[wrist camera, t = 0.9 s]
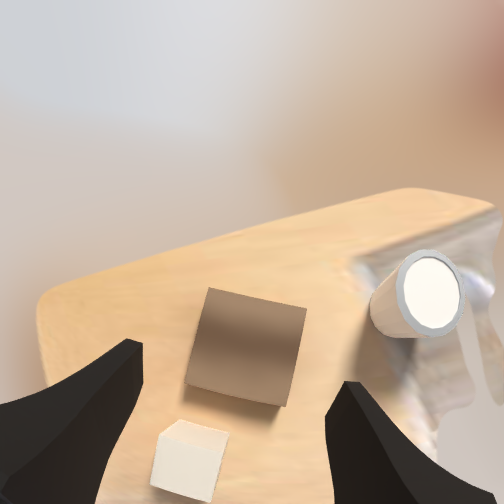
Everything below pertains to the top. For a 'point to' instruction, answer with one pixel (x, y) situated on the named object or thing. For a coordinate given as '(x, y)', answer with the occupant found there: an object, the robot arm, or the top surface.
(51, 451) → the robot arm
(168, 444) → the cream block
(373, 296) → the white cup
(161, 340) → the top surface
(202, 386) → the walnut block
